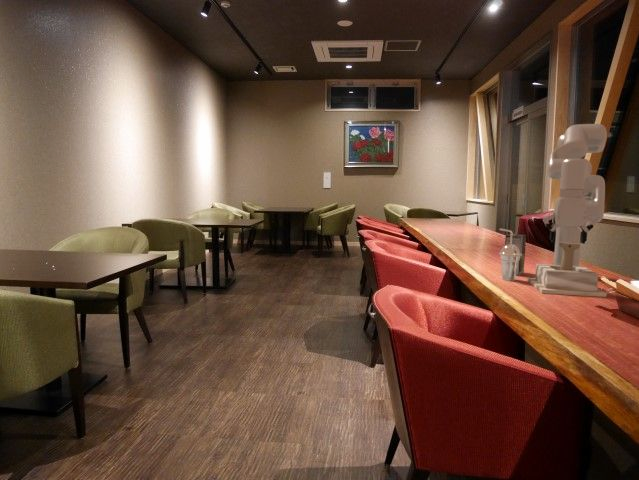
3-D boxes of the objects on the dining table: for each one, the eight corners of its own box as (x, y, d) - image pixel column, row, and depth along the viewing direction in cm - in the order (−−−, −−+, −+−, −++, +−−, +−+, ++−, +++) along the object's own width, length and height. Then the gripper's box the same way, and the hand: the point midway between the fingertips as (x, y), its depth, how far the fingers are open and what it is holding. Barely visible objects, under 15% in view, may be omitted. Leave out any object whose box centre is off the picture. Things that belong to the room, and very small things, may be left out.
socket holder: (527, 281, 186) (528, 262, 186) (584, 284, 182) (585, 265, 182) (541, 293, 165) (543, 272, 164) (606, 297, 161) (608, 275, 160)
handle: (574, 287, 170) (580, 245, 168) (554, 284, 173) (559, 243, 171) (573, 285, 175) (579, 243, 173) (554, 282, 177) (559, 241, 175)
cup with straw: (521, 282, 183) (524, 229, 181) (495, 280, 186) (498, 228, 184) (519, 278, 191) (523, 227, 189) (495, 276, 194) (498, 226, 192)
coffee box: (508, 270, 209) (510, 233, 207) (524, 272, 205) (526, 234, 203) (502, 273, 202) (505, 235, 200) (518, 275, 198) (521, 236, 196)
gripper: (594, 194, 172) (590, 242, 174) (542, 193, 175) (539, 240, 178) (602, 195, 165) (598, 245, 167) (547, 194, 168) (544, 243, 170)
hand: (567, 242), depth 172 cm, fingers open, 9 cm apart
